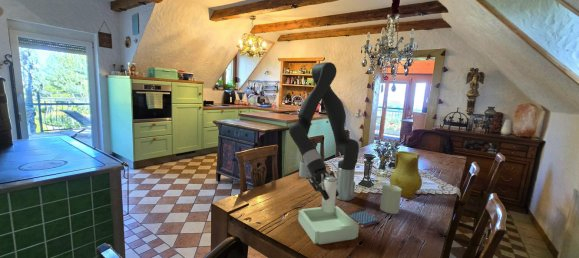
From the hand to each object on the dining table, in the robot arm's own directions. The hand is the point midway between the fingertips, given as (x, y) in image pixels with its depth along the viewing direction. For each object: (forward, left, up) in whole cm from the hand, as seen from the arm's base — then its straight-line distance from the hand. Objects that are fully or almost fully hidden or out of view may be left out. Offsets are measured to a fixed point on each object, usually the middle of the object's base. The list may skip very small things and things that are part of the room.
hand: (332, 197), depth 105 cm
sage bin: (+1, -2, -15) cm, 15 cm away
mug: (-17, -66, -15) cm, 69 cm away
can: (-39, -11, -15) cm, 43 cm away
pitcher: (-63, -27, -15) cm, 70 cm away
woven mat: (-19, -5, -15) cm, 25 cm away
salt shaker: (+1, -2, -6) cm, 6 cm away
